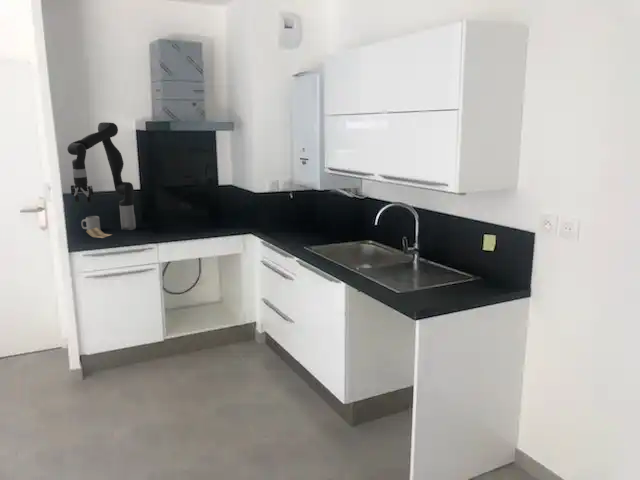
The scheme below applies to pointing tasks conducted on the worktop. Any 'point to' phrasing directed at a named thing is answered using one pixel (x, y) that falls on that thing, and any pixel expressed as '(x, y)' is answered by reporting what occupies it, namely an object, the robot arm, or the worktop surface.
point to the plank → (95, 232)
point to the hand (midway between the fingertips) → (83, 202)
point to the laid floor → (104, 235)
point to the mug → (91, 222)
